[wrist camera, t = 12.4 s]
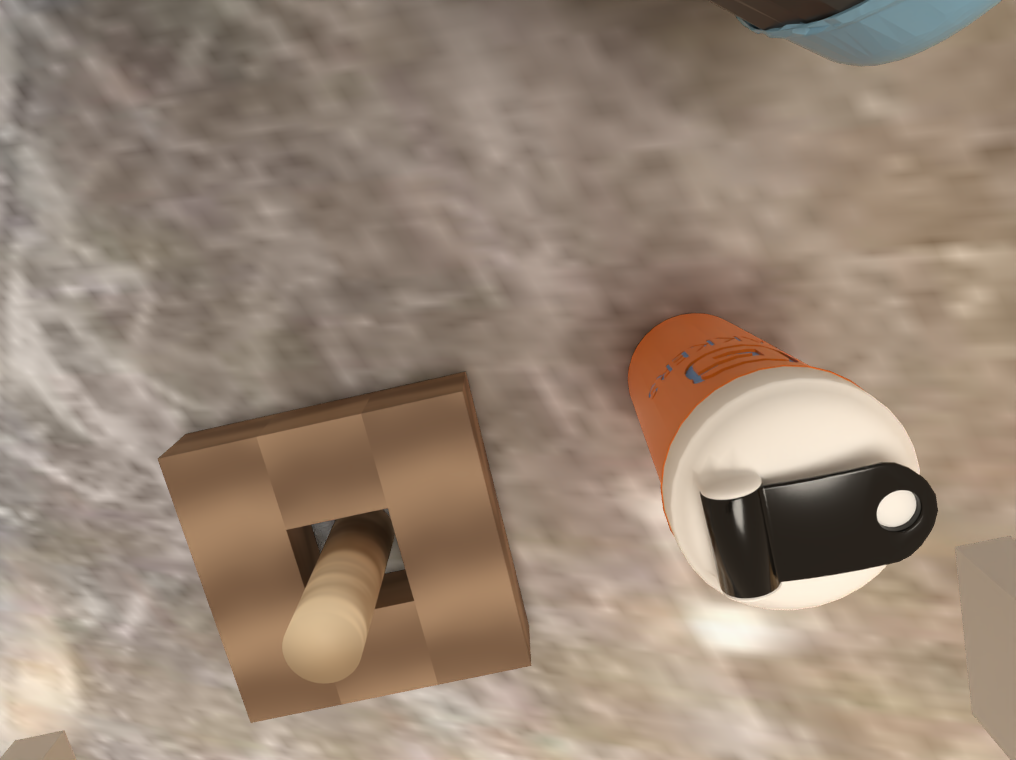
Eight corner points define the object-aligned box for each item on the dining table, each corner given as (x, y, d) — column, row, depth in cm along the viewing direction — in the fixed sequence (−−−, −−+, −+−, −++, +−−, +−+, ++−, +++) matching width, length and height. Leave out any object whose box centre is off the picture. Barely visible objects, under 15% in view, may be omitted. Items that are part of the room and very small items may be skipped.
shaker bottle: (794, 416, 48) (994, 596, 28) (644, 476, 49) (738, 690, 29) (741, 268, 46) (917, 354, 26) (585, 334, 46) (644, 463, 27)
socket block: (185, 433, 48) (157, 458, 44) (465, 371, 47) (462, 391, 43) (269, 680, 52) (250, 722, 48) (528, 626, 51) (531, 665, 47)
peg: (326, 510, 49) (272, 621, 37) (386, 497, 49) (350, 605, 37) (342, 565, 50) (294, 690, 38) (401, 553, 50) (371, 675, 38)
